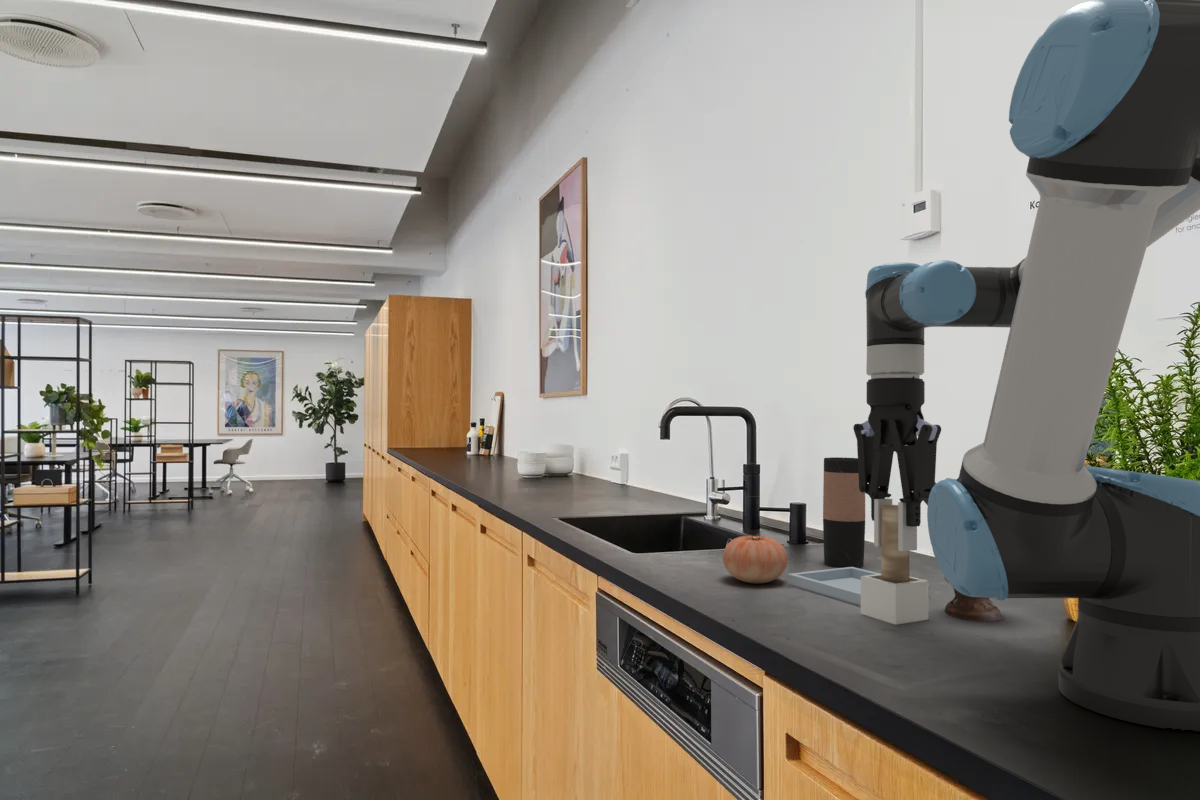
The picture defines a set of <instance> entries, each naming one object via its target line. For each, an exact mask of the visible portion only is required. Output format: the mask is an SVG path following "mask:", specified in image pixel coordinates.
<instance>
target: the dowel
mask: <svg viewBox="0 0 1200 800" xmlns="http://www.w3.org/2000/svg"><path fill="white" fill-rule="evenodd" d="M880 563H881V573H880V574H881V580H883V581H887V582H891V583H895V584H896V583H904V582H909V576H910V551H898V504H892V505H882V547H881V562H880Z"/></svg>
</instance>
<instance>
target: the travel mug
mask: <svg viewBox="0 0 1200 800" xmlns="http://www.w3.org/2000/svg"><path fill="white" fill-rule="evenodd" d="M822 484H823V489H822V490H823V495H822V497H823V498H822V502H823V503H822V525H823V527H822V530H823V534H822V535H823V536H822V537H823V563H824V565H826V566H828V567H833V568H845V567H855V568H859V569H861V568H862V567H864V565H865V564H864V562H865V561H864V560H865V540H866V539H865V535H866V493H865V492H864V493H862V492H860V490H859V473H858V457H838V456H837V457H824V458H823V483H822Z"/></svg>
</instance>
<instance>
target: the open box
mask: <svg viewBox="0 0 1200 800" xmlns="http://www.w3.org/2000/svg"><path fill="white" fill-rule="evenodd" d="M929 599H930V583H929V580H926V579H922V578H917V577H914V576H910V575H909V582H904V583H896V584H895V583H891V582H887V581H883V580H881V573H880V574H875V575H867V576H861V607H860V615H863V616H865V617H869V618H872V619H875V620H879V621H882V622H886V623H888V624H892V625H894V626H896V625H897V626H898V625H903V624H910V623H916V622H922V621H928V620H929V606H930V605H929Z"/></svg>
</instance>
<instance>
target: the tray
mask: <svg viewBox="0 0 1200 800" xmlns="http://www.w3.org/2000/svg"><path fill="white" fill-rule="evenodd" d="M875 574H881V573H879V572H875V571H871V570H866V569H863V568H855V567H845V568H838V567H835V568H831V569H830V568H828V569H827V568H826V569H822V570H821V569H819V570H811V571H809V570H808V571H802V572H795V573H794V572H792V573H787V585H786V586H787V589H792V588H797V589H800V590H804V591H808V592H809V593H810V592H811V593H814V594H817V595H820V596H823V597H827V598H830V599H834V600H836V601H841V602H844V603H846V604H847V603H848V604H850V605H854V606H857V607H860V608H861V576H867V575H875Z"/></svg>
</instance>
